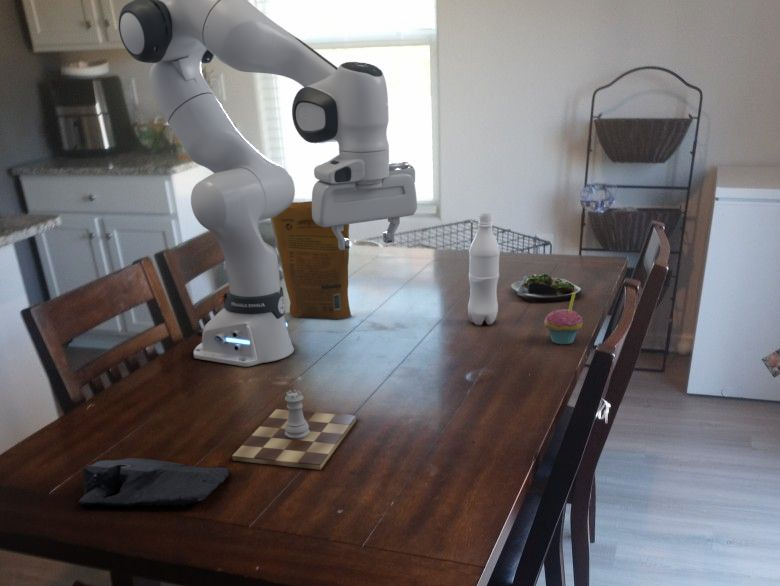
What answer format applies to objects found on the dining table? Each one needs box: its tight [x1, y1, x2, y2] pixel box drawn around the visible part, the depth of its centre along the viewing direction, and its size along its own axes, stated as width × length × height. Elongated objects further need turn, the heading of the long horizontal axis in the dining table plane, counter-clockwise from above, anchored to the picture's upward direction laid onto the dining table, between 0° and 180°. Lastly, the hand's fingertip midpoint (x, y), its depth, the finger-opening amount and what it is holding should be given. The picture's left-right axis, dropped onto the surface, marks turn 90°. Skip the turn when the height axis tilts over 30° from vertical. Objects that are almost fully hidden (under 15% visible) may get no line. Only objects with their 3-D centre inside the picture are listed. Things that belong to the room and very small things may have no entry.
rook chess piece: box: [284, 389, 310, 439], centre depth 148 cm, size 4×4×8 cm
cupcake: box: [544, 289, 585, 345], centre depth 187 cm, size 9×8×12 cm
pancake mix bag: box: [269, 200, 352, 320], centre depth 204 cm, size 7×19×28 cm, turn 75°
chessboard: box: [231, 408, 357, 471], centre depth 150 cm, size 16×20×1 cm
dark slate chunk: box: [78, 457, 230, 508], centre depth 135 cm, size 15×22×5 cm
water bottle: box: [467, 212, 501, 326], centre depth 197 cm, size 7×7×25 cm
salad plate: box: [511, 273, 582, 304], centre depth 222 cm, size 19×18×5 cm
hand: (366, 245), depth 157 cm, fingers open, 8 cm apart
